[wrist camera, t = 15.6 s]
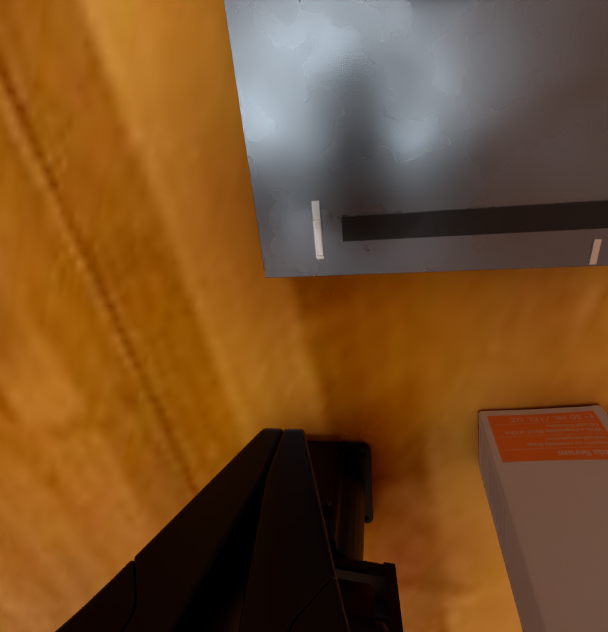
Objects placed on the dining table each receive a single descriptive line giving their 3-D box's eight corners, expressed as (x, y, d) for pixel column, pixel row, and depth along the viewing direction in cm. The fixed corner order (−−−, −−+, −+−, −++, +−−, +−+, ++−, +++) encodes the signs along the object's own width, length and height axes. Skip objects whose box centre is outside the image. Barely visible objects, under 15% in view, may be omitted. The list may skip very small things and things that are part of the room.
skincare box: (600, 400, 21) (821, 699, 11) (592, 462, 23) (774, 770, 13) (473, 407, 23) (558, 680, 12) (475, 465, 24) (550, 745, 14)
